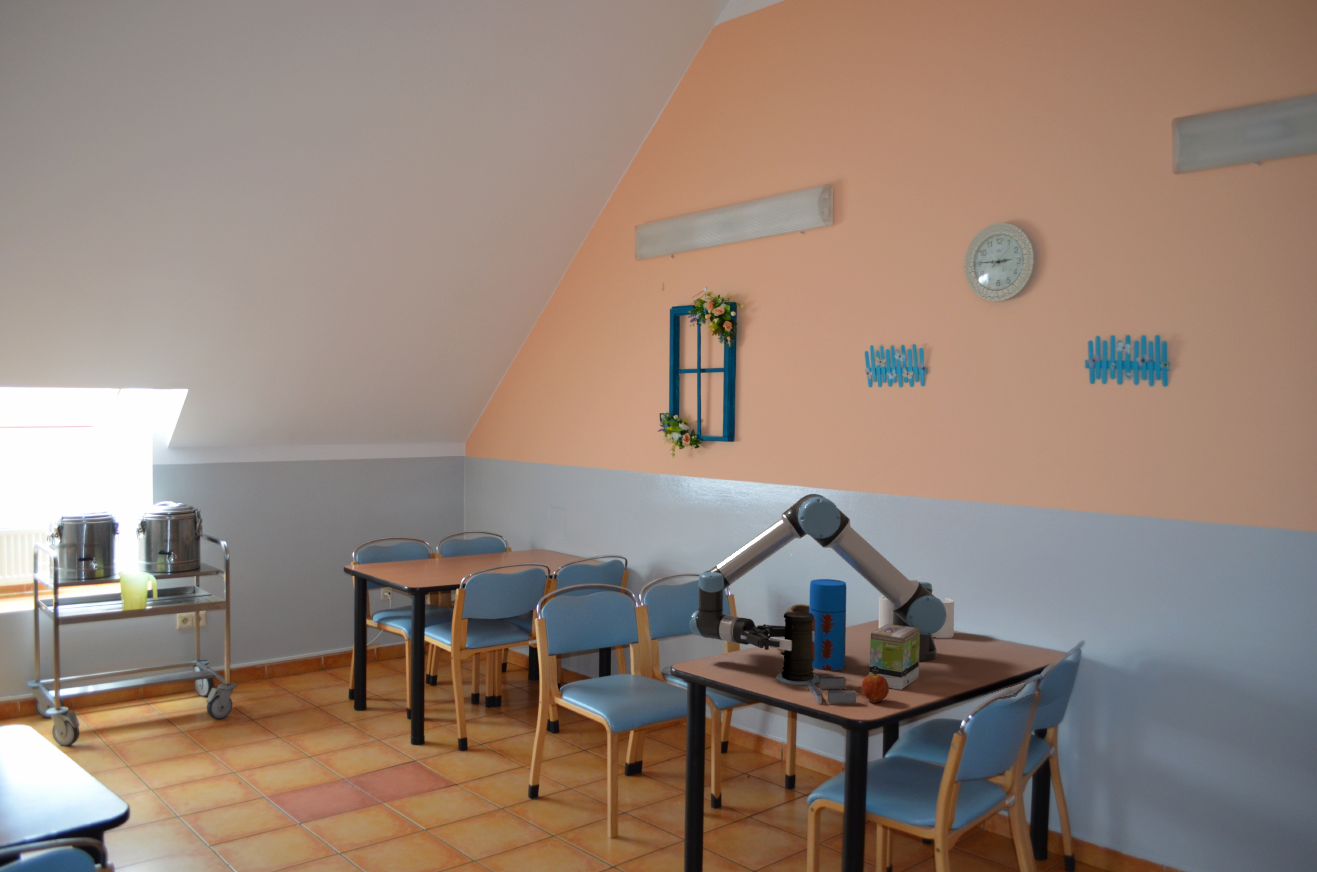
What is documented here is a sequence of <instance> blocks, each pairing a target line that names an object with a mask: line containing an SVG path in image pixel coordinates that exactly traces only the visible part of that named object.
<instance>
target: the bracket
mask: <svg viewBox="0 0 1317 872" xmlns="http://www.w3.org/2000/svg"><path fill="white" fill-rule="evenodd" d="M942 603H943V604H944V607H945V609H946V621H945V623H944V625H943V627H942V628H941V629H940V630H939V631H937V632H936V633H934V634H932V636H933V637H936V638H935V639H950V638H954V635H955V634H954V630H955V627H954V626H955V623H954V622H955V600H954V599H952V598H950V597H945V598H944V601H942ZM887 624H893V611H892V610H891V609H890V601H889V600H888V599H887V598H885V597H884V596H883V595H880V596H879V597H878V629H879V628H881V627H883V626H885V625H887Z"/></svg>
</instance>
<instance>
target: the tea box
mask: <svg viewBox="0 0 1317 872" xmlns="http://www.w3.org/2000/svg"><path fill="white" fill-rule="evenodd" d="M869 641H870V642H869V643H870V645H869V646H870V647H869V667H868V668H869V669H868V675H872V674H876V671H877V674H876V675H880V676H883V677H884V678H885V679H886V681H887V683H888V686H889V689H894V690H900V691H901V690H903V689H904V688H905V687H907V686H909V685H910V684H912V683H913V682H914V681H916V680H917V679H918V678H919V671H920V669H919V668H920V661H919V649H920V628H914V627H907V626H900V625H893V624H887V625H885V626H883V627H881V628H879V627H878V629H875V630H873V631H872V632H870V639H869Z"/></svg>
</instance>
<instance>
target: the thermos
mask: <svg viewBox="0 0 1317 872" xmlns="http://www.w3.org/2000/svg"><path fill="white" fill-rule="evenodd" d="M808 605H809V613H811V614H813V615H814V619H813V620H812V621H813V623H812V629H813V632H814V641H812V658H813V660H812V667H813V669H816V670H820V669H821V670H822V671H839V670H843V669H844V668H845V661H846V639H847V638H846V636H847V635H846V634H847V633H846V632H847V627H846V625H847V622H846V621H847V582H845V581H843V580H838V579H830V578H827V579H826V578H821V579H820V578H819V579H813V580H810V585H809V604H808ZM842 668H843V669H842ZM838 669H839V670H838Z"/></svg>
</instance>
